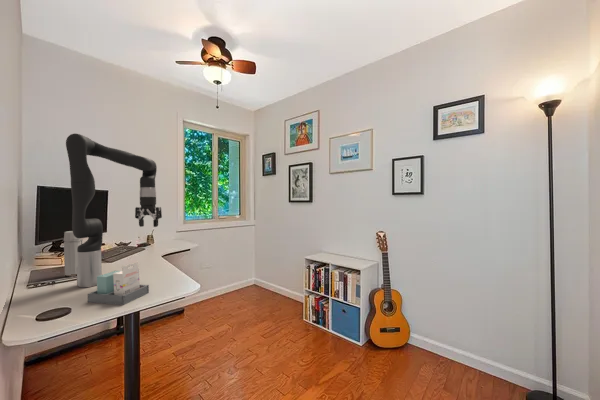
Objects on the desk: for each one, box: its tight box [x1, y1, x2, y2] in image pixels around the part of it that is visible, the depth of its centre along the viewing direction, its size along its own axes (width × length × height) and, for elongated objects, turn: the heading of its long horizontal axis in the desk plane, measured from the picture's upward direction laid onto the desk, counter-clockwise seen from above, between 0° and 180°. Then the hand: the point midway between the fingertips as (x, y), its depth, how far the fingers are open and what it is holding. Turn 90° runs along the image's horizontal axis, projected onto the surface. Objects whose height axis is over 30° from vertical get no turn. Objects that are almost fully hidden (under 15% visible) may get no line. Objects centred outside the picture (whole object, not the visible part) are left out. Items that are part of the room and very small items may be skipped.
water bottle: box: [63, 230, 84, 276], centre depth 146 cm, size 9×8×25 cm
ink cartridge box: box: [113, 261, 141, 295], centre depth 110 cm, size 9×5×15 cm, turn 168°
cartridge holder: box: [87, 284, 150, 306], centre depth 111 cm, size 17×13×4 cm
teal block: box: [96, 270, 120, 294], centre depth 111 cm, size 5×9×10 cm, turn 169°
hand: (148, 226), depth 136 cm, fingers open, 8 cm apart
